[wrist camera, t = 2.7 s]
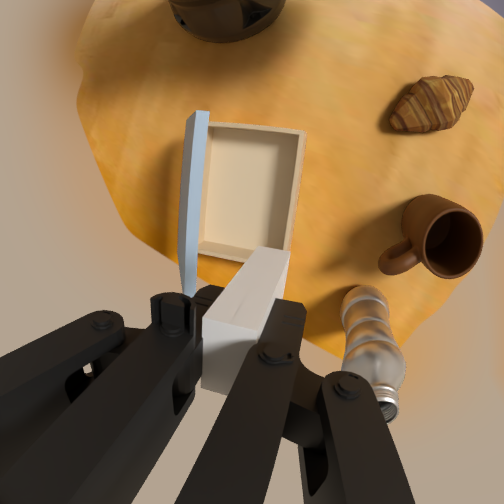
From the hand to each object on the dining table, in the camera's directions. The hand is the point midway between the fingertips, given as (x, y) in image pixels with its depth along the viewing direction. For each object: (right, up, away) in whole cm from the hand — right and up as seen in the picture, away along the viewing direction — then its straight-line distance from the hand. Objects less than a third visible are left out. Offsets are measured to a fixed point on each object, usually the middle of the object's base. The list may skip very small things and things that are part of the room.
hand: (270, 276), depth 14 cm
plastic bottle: (+14, -6, +24) cm, 29 cm away
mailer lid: (-7, +6, +15) cm, 17 cm away
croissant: (+21, +19, +14) cm, 32 cm away
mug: (+19, +4, +20) cm, 28 cm away
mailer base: (-1, +9, +23) cm, 25 cm away
